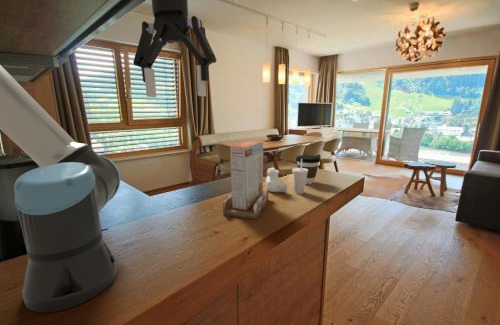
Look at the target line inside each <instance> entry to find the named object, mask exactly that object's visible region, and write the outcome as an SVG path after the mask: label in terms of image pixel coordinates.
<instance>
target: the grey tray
mask: <svg viewBox="0 0 500 325" xmlns="http://www.w3.org/2000/svg"><path fill="white" fill-rule="evenodd" d="M269 194H270V191H269V190H268V188H267V187H266V188H265V189H263V193H262V194H261V196H260V197H259V199H258V200H257V201H256V203H255V204H254V205H253V206H252V207H251V208H249V209H248V210H247V211H246V210H241V209H235V208H232V193H231V194H229V195H228V197H227V198H225V199H224V200H223V202H222V215H223V216H225V217H234V218H242V219H249V220H257V219H258V217H260V214H261V212H262V210H263V209H264V208H265V206H266V204H267V202H268V201H269Z"/></svg>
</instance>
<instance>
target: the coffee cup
mask: <svg viewBox="0 0 500 325" xmlns="http://www.w3.org/2000/svg"><path fill="white" fill-rule="evenodd" d="M301 159H302V168H305V169H308V173H307V178H306V184H305V185H311V184H310V183H313V184H314V182H315V180H316V176H317V172H318V168H319V163H320V162H321V159H320V157H319V156H318V155H312V154H311V155H310V154H302V155H301V154H300V155H297V156H296V158H295V161H296V168H301Z"/></svg>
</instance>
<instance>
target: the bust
mask: <svg viewBox="0 0 500 325" xmlns="http://www.w3.org/2000/svg"><path fill="white" fill-rule="evenodd" d="M266 174H267V176H266V178H265V185H266V188H268V191H269V192H271V193H283V194H284V193H285V194H286V192H287V191H288V185H287V183H286V181H285V180H283V179H281V178H280V177H279V174H280V171H279V170H278V169H276V168H275V167H273V166H272V167H269V168H268V169H267V170H266Z"/></svg>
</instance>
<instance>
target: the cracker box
mask: <svg viewBox="0 0 500 325" xmlns="http://www.w3.org/2000/svg"><path fill="white" fill-rule="evenodd" d="M229 150H230V151H229V156H230V157H229V158H230V159H229V160H230V181H231V182H230V184H231V187H230V188H231V194H232V208H235V209H241V210H246V211H247V210H248V209H249V208H251V207H252V206H253V205H254V204H255V203H256V201H257V200H258V199H259V197H260V196H261V194H262V193H263V192H264V141H260V140H249V141H245V142H241V143H238V144H234V145H232V146H229Z"/></svg>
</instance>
